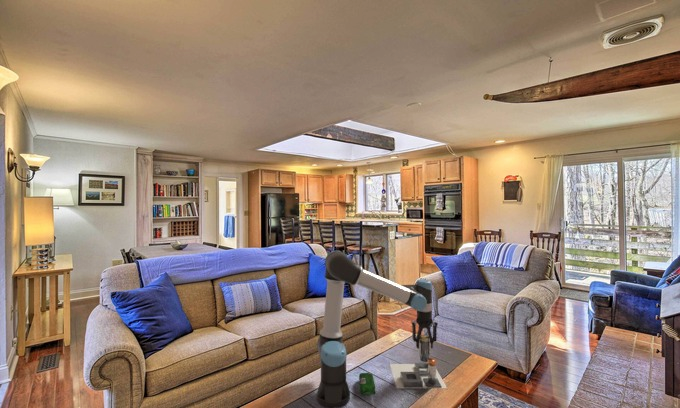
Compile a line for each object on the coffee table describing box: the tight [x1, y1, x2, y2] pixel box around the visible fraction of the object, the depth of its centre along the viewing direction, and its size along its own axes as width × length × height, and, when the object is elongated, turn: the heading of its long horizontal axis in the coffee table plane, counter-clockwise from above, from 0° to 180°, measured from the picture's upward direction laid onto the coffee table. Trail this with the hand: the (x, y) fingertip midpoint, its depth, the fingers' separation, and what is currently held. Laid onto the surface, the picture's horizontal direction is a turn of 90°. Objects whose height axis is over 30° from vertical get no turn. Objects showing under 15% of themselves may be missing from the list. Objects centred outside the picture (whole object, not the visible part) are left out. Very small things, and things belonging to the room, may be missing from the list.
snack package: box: [358, 372, 377, 396], centre depth 149 cm, size 7×16×5 cm, turn 179°
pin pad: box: [423, 378, 443, 389], centre depth 153 cm, size 7×7×1 cm
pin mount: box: [400, 372, 424, 389], centre depth 154 cm, size 9×9×3 cm
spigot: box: [419, 334, 430, 363], centre depth 164 cm, size 5×5×12 cm
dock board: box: [389, 363, 448, 389], centre depth 160 cm, size 24×22×1 cm
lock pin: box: [427, 357, 437, 385], centre depth 152 cm, size 4×4×11 cm
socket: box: [414, 362, 428, 375], centre depth 164 cm, size 8×8×2 cm
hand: (424, 354), depth 164 cm, fingers closed on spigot, 5 cm apart
